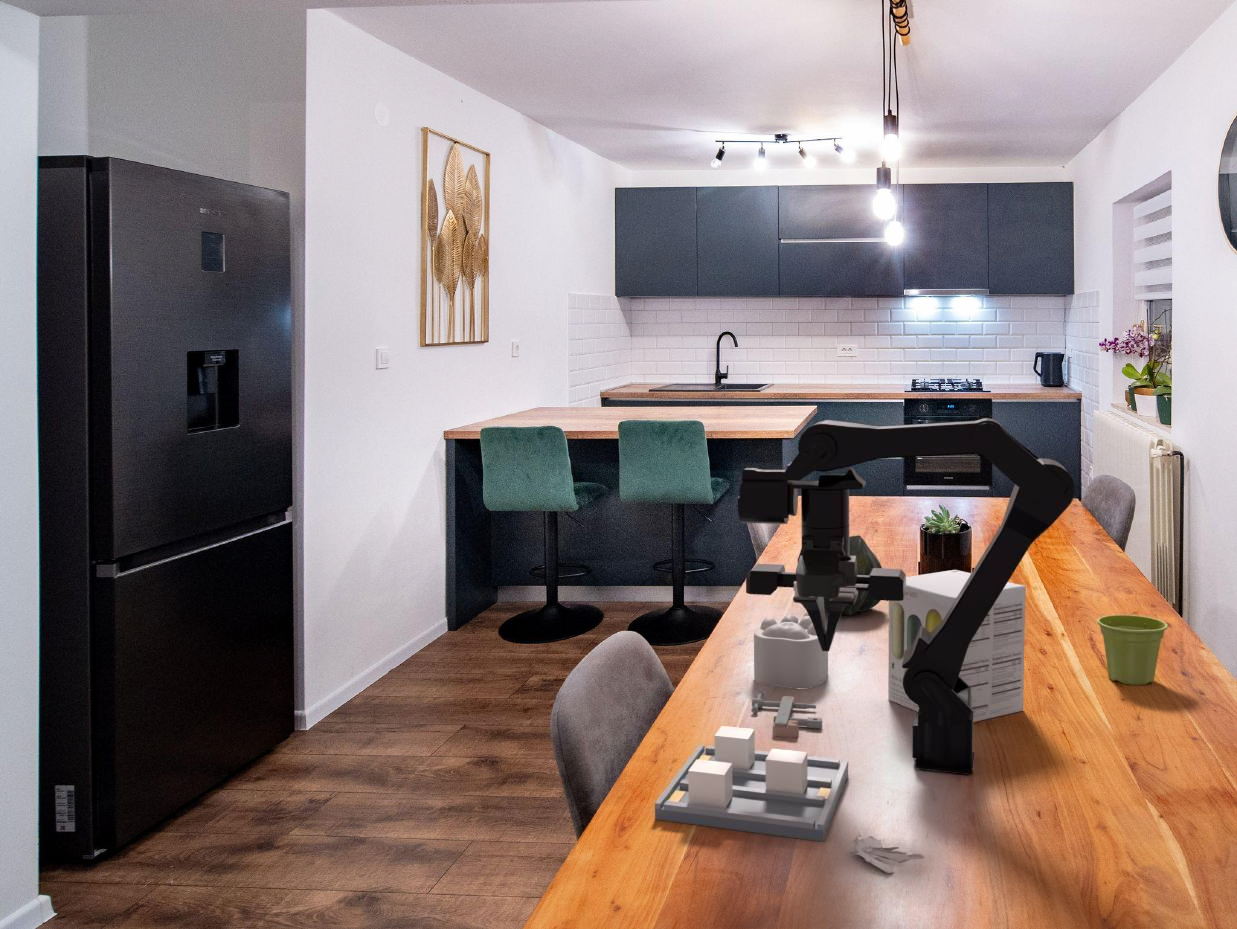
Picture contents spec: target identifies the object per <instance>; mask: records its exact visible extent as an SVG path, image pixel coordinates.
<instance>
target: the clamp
mask: <svg viewBox="0 0 1237 929" xmlns="http://www.w3.org/2000/svg"><path fill="white" fill-rule="evenodd" d="M756 693H757V697H756V698H755V697H754V698H752V699H751V712H752V714H755V715H756V714H758V712H759V709H763V707H764V708H778V710H777V714H776V715H774V716H773V723H772V736H773V735H774V737H776V736H781V737H782V738H792V737H797V738H799V734H798V733H800V732H799V731H800V728H799V727H800V726H801V727H806V728H807V729H819V730H821V729H823V718H822V717H809V716H808V717H807V718H803V717H802V718H800V717H790V715H791V712H793V711H792V710H795V709H796V710H797V709H798V710H807V709H809V710H810V709H813V710H814V709H817V704H809V703H806V702H794V701H795V697H794V696H784V695H783V696H782V697H781V700H780V701H769V700H763V697H764V695H765V692H764V690H762V689H760V690H758V691H757V692H756ZM781 737H780V738H781Z"/></svg>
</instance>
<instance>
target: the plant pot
mask: <svg viewBox="0 0 1237 929" xmlns="http://www.w3.org/2000/svg"><path fill="white" fill-rule="evenodd" d="M1096 622H1097V625H1098V626H1099V628H1100V632H1101V635H1102V638H1103V639H1102V640H1103V645H1104V652H1105V658H1106V659H1105V661H1106V668H1107V676H1108V678H1109V679H1110V680H1112V681H1119V682H1120V683H1122V684H1124V685H1133V686H1134V685H1136V686H1137V685H1138V686H1142V685H1147V683H1154V682H1155V675H1156V669H1157V664H1158V658H1159V652H1160V647H1161V643H1162V639H1163V638H1164V636H1165V631H1166V630H1167V629H1168V628H1169V627H1168V624H1167V623H1166V622H1165V621H1163V620H1161V619H1158V618H1155V617H1154V618H1153V617H1149V616H1142V615H1134V614H1133V615H1132V614H1111V615H1109V614H1108V615H1104V616H1100V617H1099V618H1097V619H1096Z"/></svg>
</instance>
